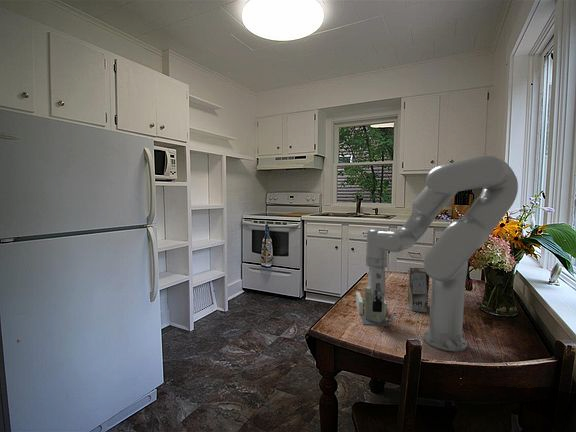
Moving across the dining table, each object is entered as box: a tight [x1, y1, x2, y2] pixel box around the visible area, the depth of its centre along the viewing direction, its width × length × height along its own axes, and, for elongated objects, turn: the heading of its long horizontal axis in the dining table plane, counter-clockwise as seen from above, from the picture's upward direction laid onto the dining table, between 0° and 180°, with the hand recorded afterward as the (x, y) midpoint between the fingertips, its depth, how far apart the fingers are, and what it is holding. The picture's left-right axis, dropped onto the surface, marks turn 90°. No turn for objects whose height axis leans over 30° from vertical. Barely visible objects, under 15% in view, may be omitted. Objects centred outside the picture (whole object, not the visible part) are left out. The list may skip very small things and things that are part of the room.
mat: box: [360, 313, 390, 327], centre depth 116 cm, size 9×9×1 cm
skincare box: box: [364, 285, 385, 323], centre depth 115 cm, size 6×4×12 cm
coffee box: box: [407, 267, 430, 313], centre depth 129 cm, size 9×6×16 cm
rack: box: [355, 291, 388, 317], centre depth 127 cm, size 12×10×5 cm
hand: (374, 306), depth 115 cm, fingers open, 9 cm apart
